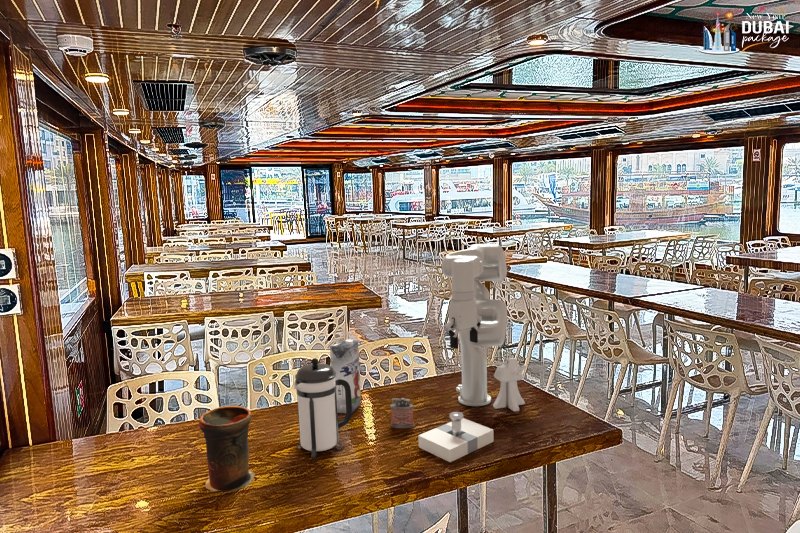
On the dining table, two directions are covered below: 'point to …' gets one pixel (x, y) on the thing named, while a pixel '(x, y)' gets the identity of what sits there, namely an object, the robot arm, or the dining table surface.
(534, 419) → the dining table surface
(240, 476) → the vessel
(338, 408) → the juice carton
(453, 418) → the steel pin
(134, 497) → the dining table surface
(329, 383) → the coffee press
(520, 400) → the toy gun turret
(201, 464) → the dining table surface
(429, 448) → the clevis block
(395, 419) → the lighter
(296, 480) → the dining table surface
